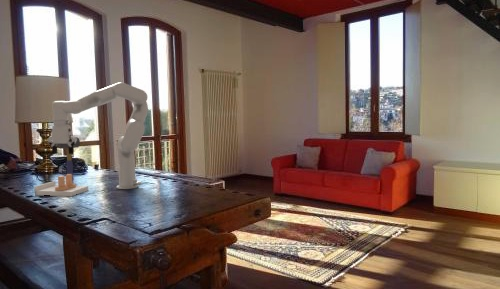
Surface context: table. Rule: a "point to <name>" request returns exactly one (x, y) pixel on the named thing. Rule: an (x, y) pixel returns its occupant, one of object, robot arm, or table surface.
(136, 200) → the table surface
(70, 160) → the rubber mallet
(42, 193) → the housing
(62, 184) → the dome with square post
